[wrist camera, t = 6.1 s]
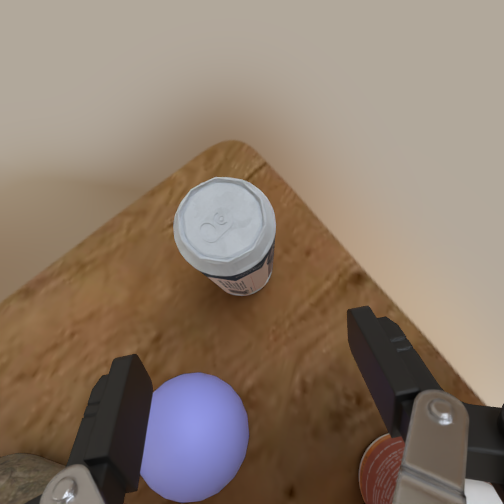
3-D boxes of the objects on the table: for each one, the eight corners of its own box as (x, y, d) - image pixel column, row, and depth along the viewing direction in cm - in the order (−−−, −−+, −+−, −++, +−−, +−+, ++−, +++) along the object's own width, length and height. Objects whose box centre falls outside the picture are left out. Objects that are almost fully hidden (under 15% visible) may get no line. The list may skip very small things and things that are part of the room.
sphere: (270, 433, 24) (272, 478, 17) (186, 492, 23) (152, 563, 16) (219, 347, 25) (201, 356, 18) (138, 400, 24) (88, 430, 18)
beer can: (285, 265, 26) (299, 217, 14) (242, 309, 25) (220, 296, 14) (242, 224, 27) (222, 147, 15) (199, 266, 26) (144, 219, 15)
